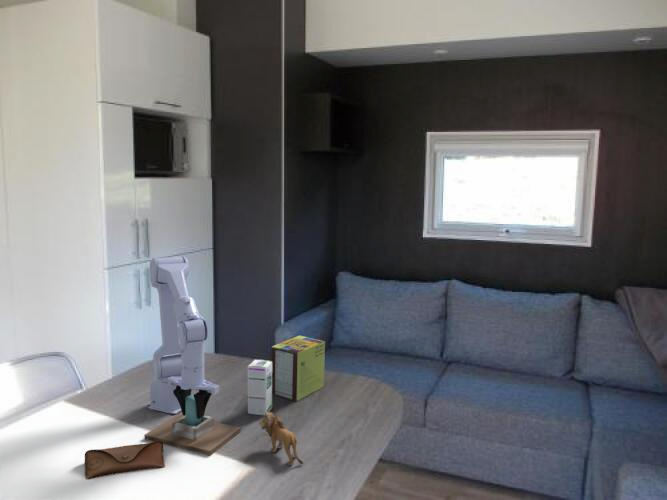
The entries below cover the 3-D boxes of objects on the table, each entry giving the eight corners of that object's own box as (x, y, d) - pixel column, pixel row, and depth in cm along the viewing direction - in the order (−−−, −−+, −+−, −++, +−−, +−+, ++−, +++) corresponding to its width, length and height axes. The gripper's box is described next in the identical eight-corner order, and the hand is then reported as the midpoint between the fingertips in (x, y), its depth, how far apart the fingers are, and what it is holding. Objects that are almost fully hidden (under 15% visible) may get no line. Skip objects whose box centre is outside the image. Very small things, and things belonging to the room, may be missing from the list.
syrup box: (266, 416, 161) (267, 367, 159) (246, 413, 162) (247, 365, 160) (272, 408, 166) (273, 360, 164) (253, 405, 168) (254, 358, 166)
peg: (182, 428, 147) (182, 399, 145) (192, 422, 150) (192, 394, 149) (194, 432, 145) (194, 402, 144) (204, 425, 149) (204, 396, 147)
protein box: (324, 386, 184) (325, 340, 182) (296, 402, 171) (297, 352, 169) (298, 379, 190) (299, 334, 188) (269, 394, 177) (270, 346, 175)
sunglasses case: (83, 480, 125) (83, 449, 127) (84, 482, 131) (84, 451, 133) (167, 467, 132) (165, 437, 134) (164, 468, 138) (163, 440, 140)
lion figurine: (256, 447, 143) (256, 413, 141) (272, 440, 146) (272, 407, 145) (295, 469, 132) (295, 433, 131) (311, 461, 136) (312, 426, 135)
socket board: (144, 439, 145) (144, 423, 145) (178, 417, 158) (178, 403, 157) (210, 455, 138) (210, 439, 137) (240, 432, 151) (240, 417, 150)
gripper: (159, 365, 144) (160, 416, 146) (207, 374, 139) (207, 427, 141) (177, 357, 151) (177, 406, 153) (223, 366, 145) (223, 416, 147)
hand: (193, 415), depth 147 cm, fingers closed on peg, 4 cm apart
